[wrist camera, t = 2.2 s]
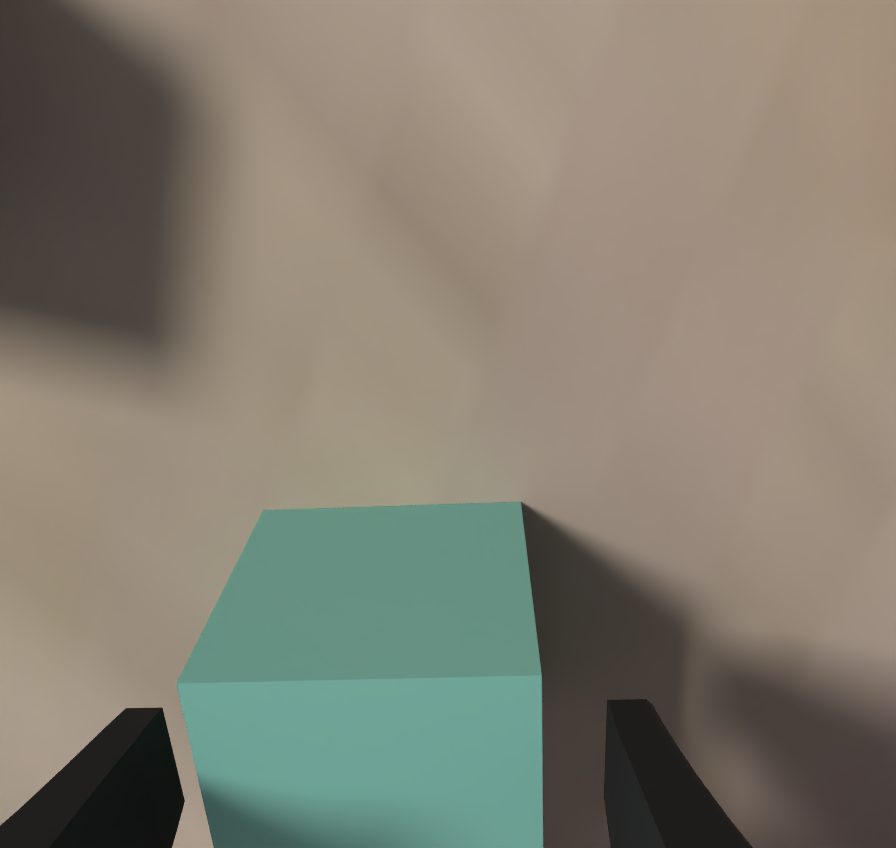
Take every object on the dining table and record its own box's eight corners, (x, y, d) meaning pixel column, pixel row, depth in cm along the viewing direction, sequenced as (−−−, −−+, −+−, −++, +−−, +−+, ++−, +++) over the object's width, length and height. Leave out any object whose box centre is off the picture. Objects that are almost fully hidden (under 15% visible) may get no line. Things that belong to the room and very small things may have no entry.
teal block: (296, 709, 17) (232, 930, 13) (263, 508, 16) (176, 683, 11) (524, 704, 17) (543, 928, 13) (520, 500, 15) (541, 675, 11)
